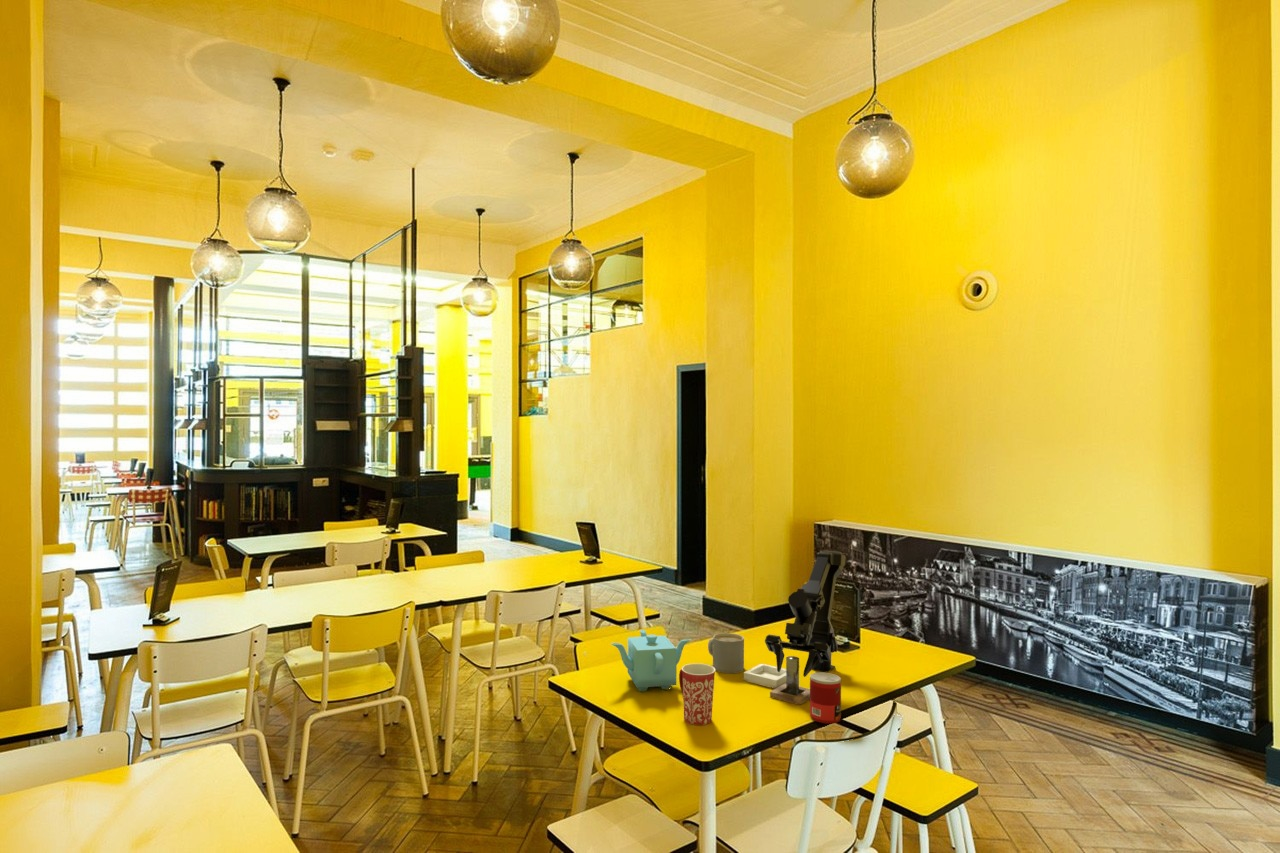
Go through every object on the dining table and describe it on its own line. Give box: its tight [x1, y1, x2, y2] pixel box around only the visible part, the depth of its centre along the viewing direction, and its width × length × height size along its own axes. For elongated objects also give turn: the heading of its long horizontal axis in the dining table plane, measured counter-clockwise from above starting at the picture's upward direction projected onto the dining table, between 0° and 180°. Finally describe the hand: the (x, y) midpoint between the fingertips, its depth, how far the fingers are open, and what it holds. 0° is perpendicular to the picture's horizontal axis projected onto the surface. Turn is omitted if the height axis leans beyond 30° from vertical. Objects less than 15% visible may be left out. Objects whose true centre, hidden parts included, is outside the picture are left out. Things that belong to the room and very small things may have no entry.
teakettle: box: [610, 629, 692, 692], centre depth 211 cm, size 19×19×15 cm
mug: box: [678, 662, 717, 726], centre depth 186 cm, size 13×9×14 cm
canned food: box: [809, 671, 842, 725], centre depth 186 cm, size 8×8×11 cm
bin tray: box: [743, 663, 786, 689], centre depth 216 cm, size 11×11×2 cm
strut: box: [785, 655, 800, 696], centre depth 202 cm, size 4×4×11 cm
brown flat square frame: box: [769, 683, 810, 706], centre depth 202 cm, size 9×9×2 cm
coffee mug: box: [707, 632, 745, 674], centre depth 228 cm, size 13×10×10 cm
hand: (791, 673), depth 201 cm, fingers open, 7 cm apart
